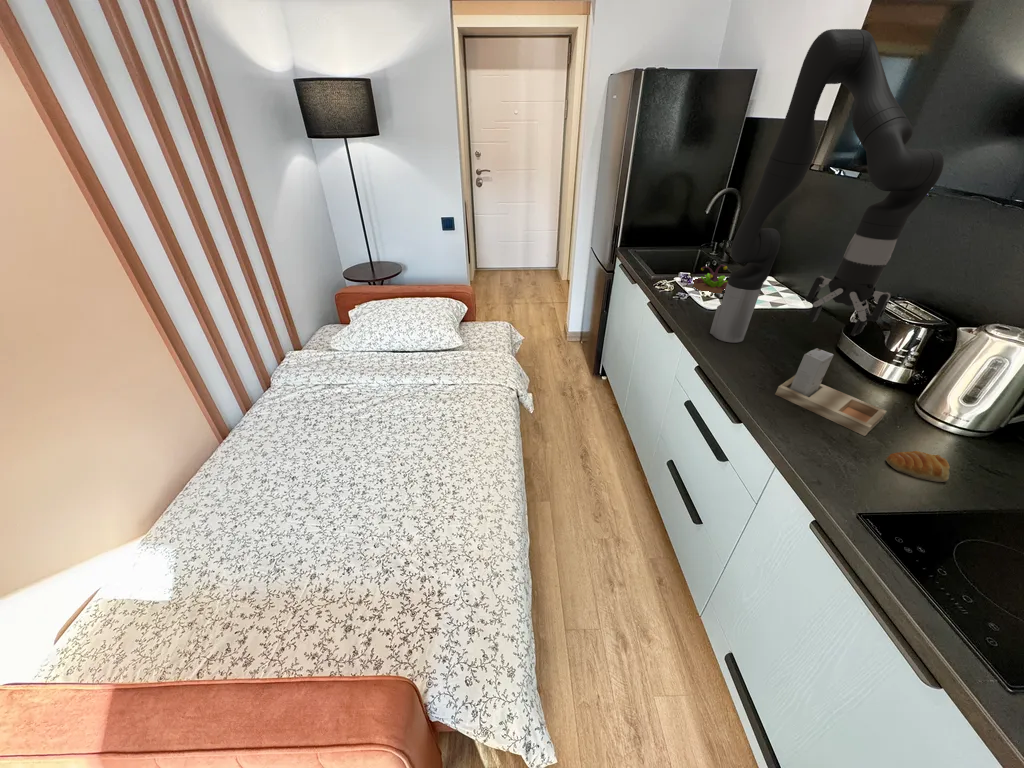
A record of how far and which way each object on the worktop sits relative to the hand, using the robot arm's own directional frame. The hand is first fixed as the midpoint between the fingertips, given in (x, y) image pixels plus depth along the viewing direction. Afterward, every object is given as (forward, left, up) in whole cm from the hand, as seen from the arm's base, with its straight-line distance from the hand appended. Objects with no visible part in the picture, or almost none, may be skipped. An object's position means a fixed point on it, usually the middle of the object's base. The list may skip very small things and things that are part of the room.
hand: (832, 327), depth 97 cm
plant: (-54, +46, -20) cm, 73 cm away
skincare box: (0, 0, -19) cm, 19 cm away
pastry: (+26, -8, -20) cm, 34 cm away
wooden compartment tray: (+6, 0, -19) cm, 20 cm away
